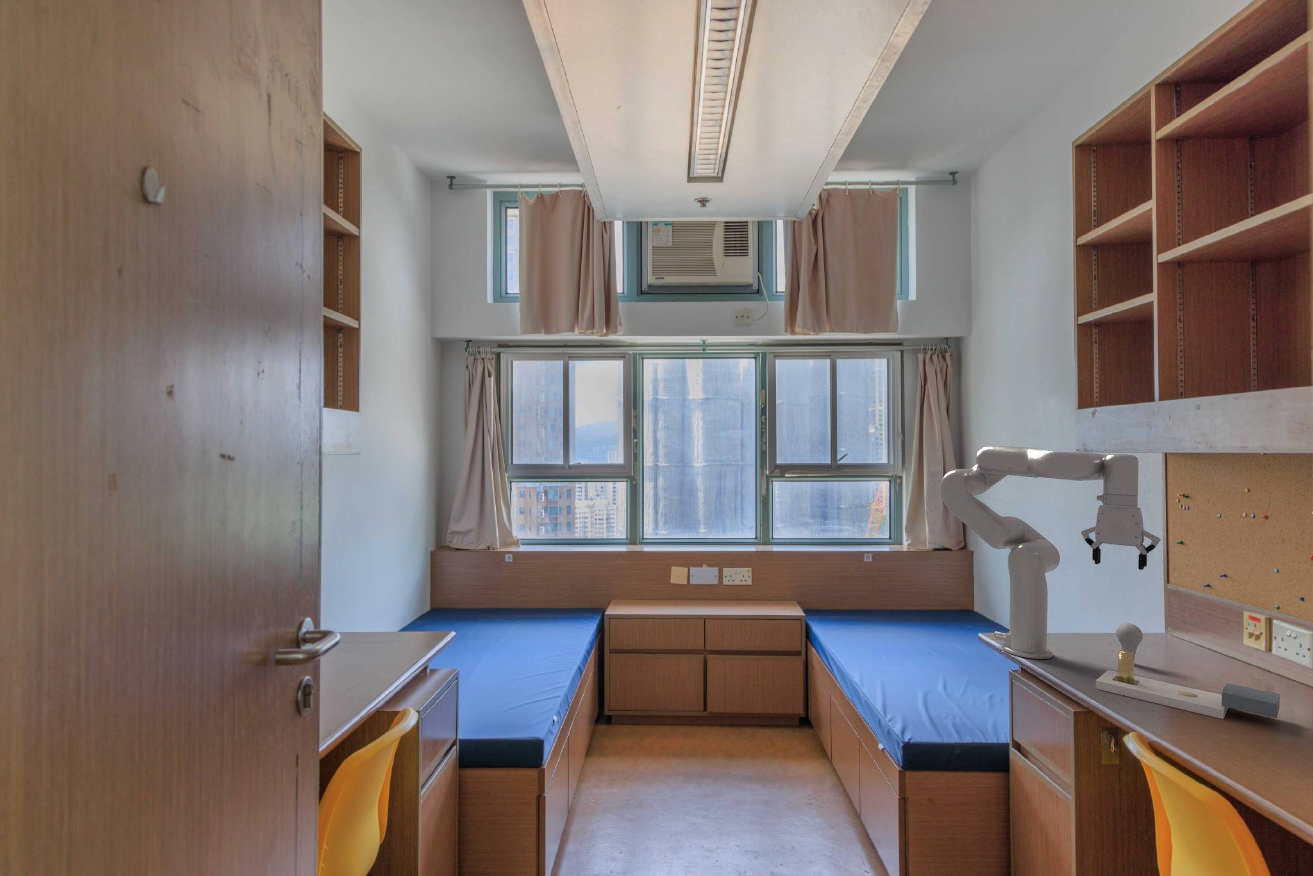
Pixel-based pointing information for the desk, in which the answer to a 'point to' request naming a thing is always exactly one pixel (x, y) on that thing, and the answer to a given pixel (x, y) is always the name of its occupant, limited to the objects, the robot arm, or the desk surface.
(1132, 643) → the lightbulb
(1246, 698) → the housing
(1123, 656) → the pin
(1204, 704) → the board
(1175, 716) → the desk surface
